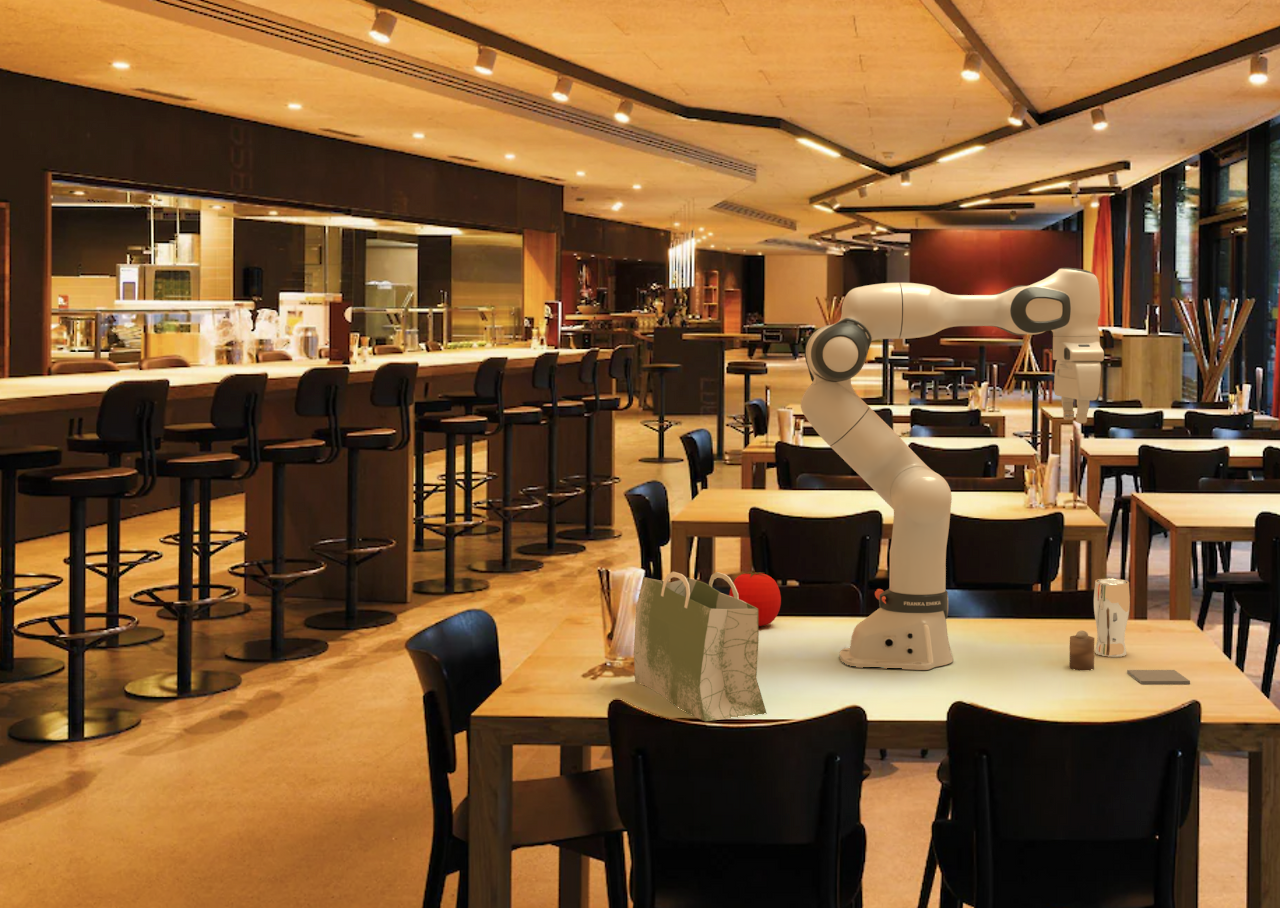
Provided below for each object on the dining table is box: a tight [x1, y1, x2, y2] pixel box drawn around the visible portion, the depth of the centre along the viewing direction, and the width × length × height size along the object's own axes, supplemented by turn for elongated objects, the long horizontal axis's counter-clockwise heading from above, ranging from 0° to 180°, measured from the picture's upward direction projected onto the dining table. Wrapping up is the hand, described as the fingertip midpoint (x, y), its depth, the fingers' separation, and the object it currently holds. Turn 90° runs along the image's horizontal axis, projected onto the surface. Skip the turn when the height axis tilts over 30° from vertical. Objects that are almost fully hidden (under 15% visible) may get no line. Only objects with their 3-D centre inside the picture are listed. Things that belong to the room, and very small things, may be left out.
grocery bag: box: [633, 571, 768, 722], centre depth 274 cm, size 32×14×23 cm, turn 23°
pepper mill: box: [1068, 630, 1095, 671], centre depth 295 cm, size 5×5×7 cm
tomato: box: [728, 569, 782, 627], centre depth 337 cm, size 12×12×13 cm
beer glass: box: [1093, 578, 1131, 658], centre depth 306 cm, size 7×7×15 cm
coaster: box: [1126, 669, 1191, 685], centre depth 286 cm, size 9×9×1 cm
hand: (1074, 421), depth 298 cm, fingers open, 8 cm apart
